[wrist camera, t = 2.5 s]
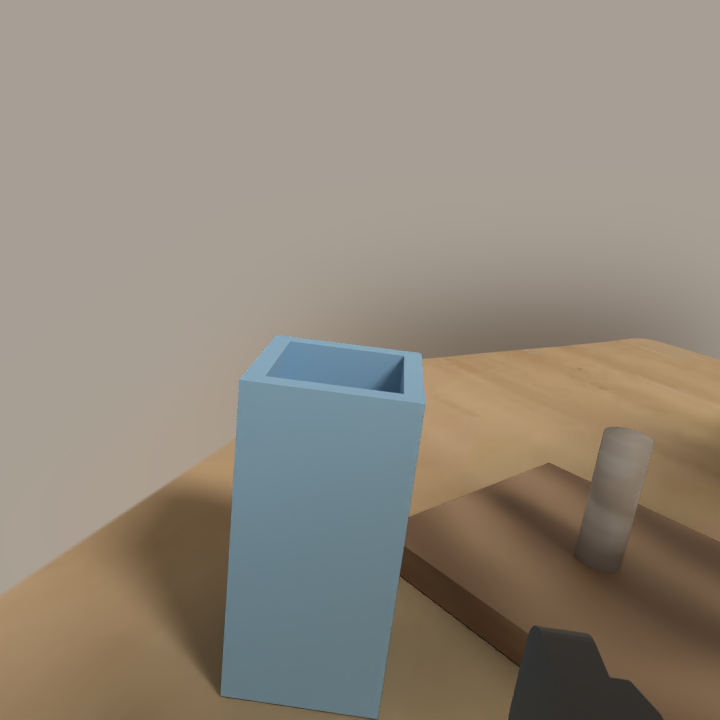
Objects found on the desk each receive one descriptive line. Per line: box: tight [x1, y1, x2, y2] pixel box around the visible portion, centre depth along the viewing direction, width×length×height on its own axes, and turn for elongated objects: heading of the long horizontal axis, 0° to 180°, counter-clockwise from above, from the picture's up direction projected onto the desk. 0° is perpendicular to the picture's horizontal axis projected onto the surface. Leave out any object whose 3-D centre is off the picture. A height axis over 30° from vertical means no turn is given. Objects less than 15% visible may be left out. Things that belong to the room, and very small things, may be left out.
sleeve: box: [221, 335, 426, 719], centre depth 21 cm, size 5×5×11 cm
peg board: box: [400, 427, 720, 720], centre depth 27 cm, size 14×14×8 cm
